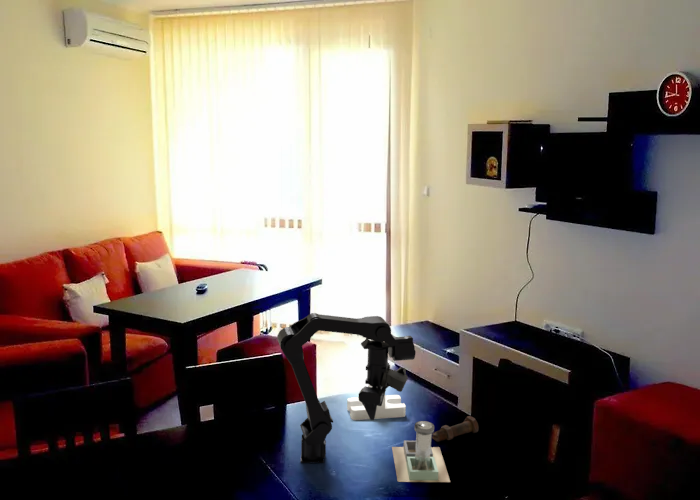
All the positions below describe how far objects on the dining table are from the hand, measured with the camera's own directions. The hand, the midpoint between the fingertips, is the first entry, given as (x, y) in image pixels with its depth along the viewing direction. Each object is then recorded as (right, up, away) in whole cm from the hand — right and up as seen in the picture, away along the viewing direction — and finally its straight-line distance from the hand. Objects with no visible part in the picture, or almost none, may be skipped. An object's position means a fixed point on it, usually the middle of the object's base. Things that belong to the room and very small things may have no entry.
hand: (376, 412), depth 181 cm
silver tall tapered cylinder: (+12, -14, -10) cm, 21 cm away
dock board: (+12, -14, -6) cm, 19 cm away
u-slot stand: (+1, -7, +27) cm, 28 cm away
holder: (+12, -13, -1) cm, 17 cm away
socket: (+12, -15, -10) cm, 21 cm away
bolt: (+24, -11, +11) cm, 29 cm away
